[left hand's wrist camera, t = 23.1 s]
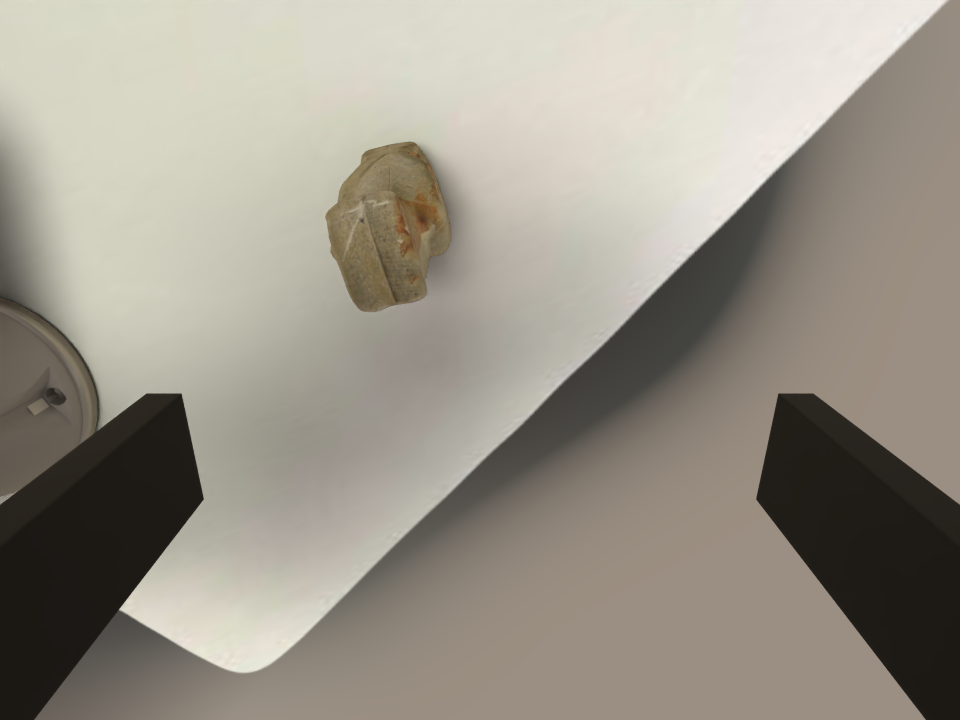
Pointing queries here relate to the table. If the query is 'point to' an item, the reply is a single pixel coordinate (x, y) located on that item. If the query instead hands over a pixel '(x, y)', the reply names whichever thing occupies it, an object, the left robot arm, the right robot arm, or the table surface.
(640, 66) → the table surface
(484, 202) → the table surface
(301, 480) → the table surface
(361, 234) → the sculpture
